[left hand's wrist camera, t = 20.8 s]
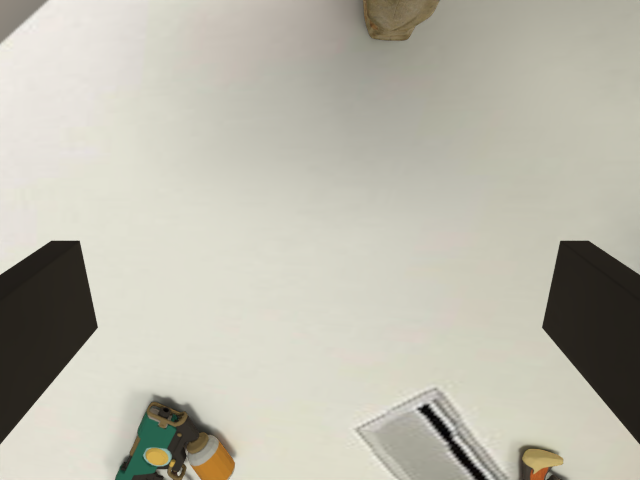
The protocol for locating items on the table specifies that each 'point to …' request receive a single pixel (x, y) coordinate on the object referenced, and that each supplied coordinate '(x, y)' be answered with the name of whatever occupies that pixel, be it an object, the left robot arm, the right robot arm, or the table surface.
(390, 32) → the sculpture
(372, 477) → the table surface
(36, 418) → the table surface
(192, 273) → the table surface
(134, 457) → the spray gun
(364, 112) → the table surface
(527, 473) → the toy gun
